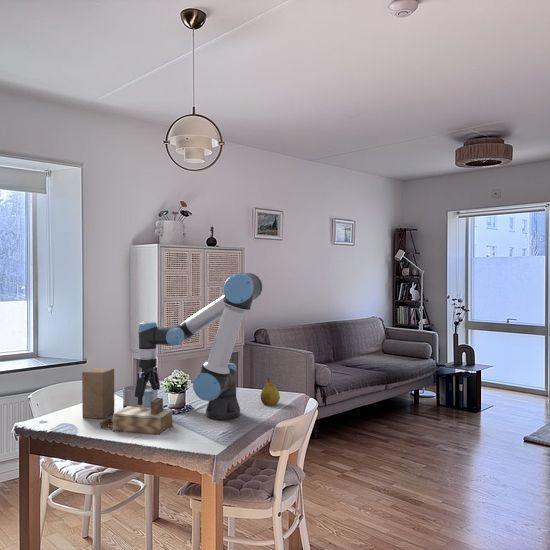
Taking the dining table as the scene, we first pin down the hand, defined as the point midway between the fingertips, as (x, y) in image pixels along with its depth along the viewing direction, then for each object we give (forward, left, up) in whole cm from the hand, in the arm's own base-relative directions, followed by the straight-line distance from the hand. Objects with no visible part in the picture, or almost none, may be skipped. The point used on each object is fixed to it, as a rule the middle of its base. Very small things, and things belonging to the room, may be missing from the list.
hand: (147, 408), depth 225 cm
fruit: (-46, -34, -4) cm, 57 cm away
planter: (+10, -10, -4) cm, 15 cm away
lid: (-5, +14, +2) cm, 15 cm away
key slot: (+8, +14, -4) cm, 17 cm away
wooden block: (+23, +1, -4) cm, 23 cm away
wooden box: (-5, +14, -4) cm, 15 cm away
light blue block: (0, 0, -4) cm, 4 cm away
